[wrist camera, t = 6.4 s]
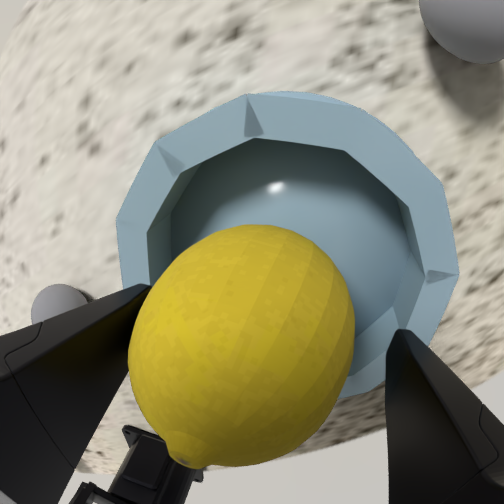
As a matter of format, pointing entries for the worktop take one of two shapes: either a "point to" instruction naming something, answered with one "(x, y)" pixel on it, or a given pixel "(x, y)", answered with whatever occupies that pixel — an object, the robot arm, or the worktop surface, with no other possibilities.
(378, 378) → the dish
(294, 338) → the lemon
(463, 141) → the worktop surface
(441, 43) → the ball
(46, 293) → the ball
